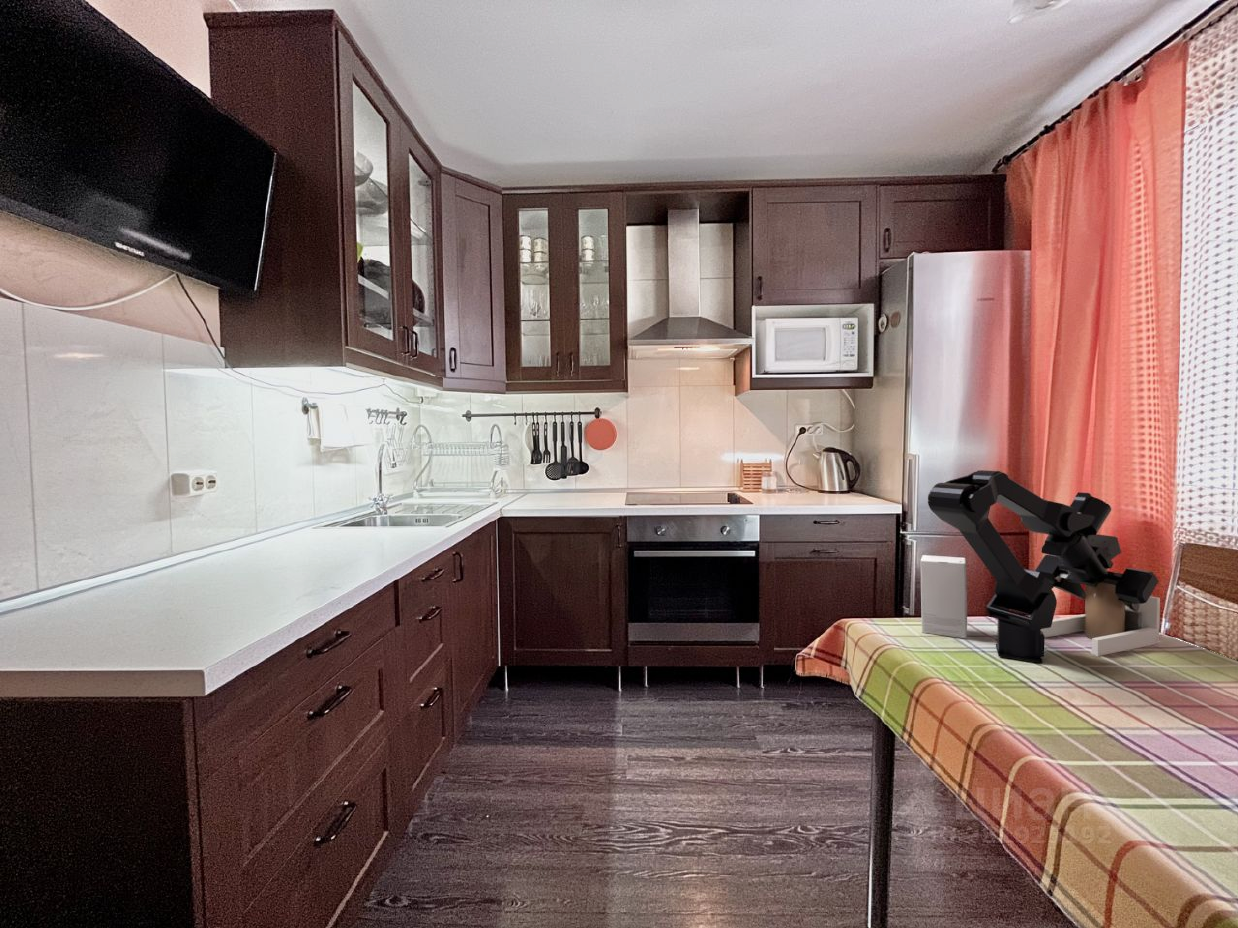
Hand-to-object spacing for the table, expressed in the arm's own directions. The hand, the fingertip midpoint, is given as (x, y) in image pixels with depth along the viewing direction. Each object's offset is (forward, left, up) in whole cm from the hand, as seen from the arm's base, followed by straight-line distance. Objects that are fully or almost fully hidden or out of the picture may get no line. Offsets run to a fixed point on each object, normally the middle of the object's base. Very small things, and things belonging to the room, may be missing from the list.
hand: (1110, 603), depth 111 cm
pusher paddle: (+1, +1, -6) cm, 7 cm away
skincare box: (-29, -12, -7) cm, 32 cm away
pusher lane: (-3, -3, -7) cm, 8 cm away
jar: (-1, -1, -7) cm, 7 cm away
